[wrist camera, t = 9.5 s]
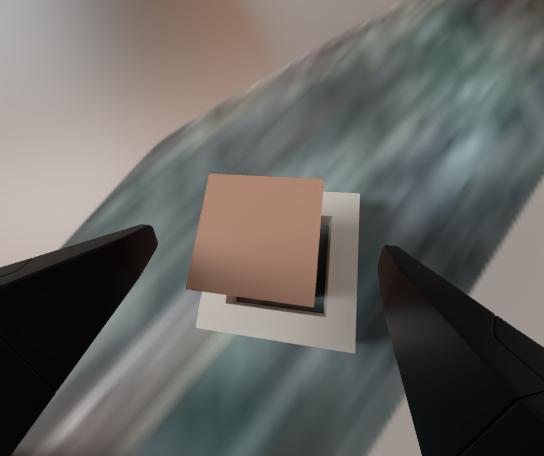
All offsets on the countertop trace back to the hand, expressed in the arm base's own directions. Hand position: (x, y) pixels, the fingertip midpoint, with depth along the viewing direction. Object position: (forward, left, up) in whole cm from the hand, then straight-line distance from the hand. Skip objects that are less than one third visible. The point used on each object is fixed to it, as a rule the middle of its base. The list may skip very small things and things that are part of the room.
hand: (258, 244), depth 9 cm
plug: (0, 0, -9) cm, 9 cm away
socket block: (0, 0, -9) cm, 9 cm away
